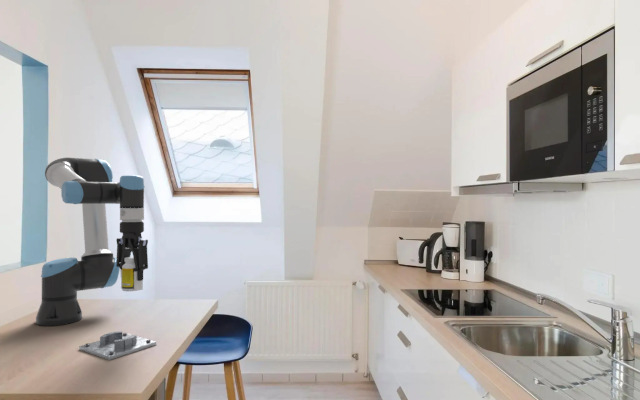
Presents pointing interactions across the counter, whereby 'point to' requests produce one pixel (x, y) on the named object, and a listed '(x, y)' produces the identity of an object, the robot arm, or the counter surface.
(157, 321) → the counter surface
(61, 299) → the robot arm
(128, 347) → the collar
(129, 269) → the pill bottle
